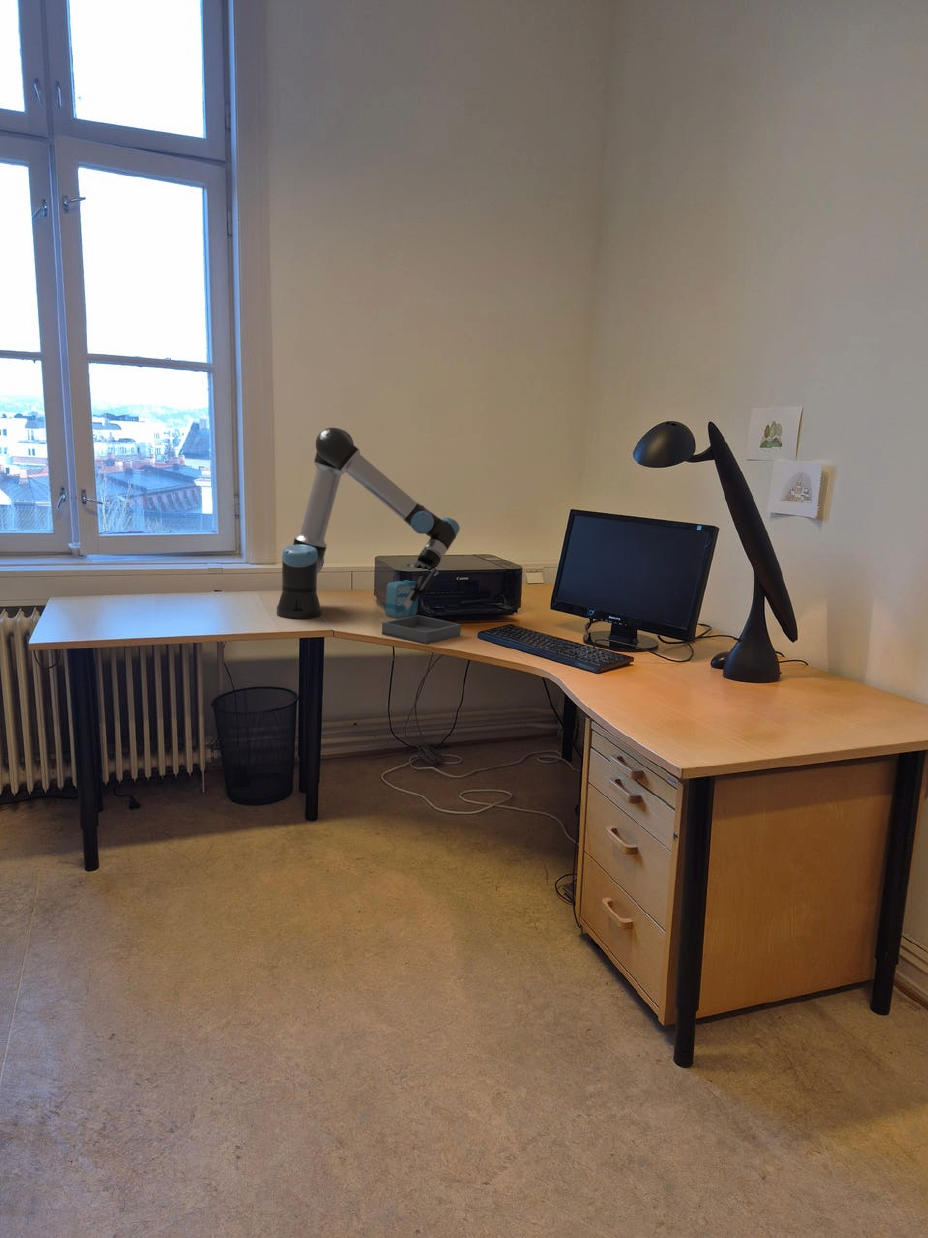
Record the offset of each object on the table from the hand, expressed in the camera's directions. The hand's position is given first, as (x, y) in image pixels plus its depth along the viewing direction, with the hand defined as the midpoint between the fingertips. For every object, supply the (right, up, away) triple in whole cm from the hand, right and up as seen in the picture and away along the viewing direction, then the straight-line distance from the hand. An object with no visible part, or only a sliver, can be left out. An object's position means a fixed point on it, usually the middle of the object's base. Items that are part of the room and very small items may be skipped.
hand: (399, 605), depth 259 cm
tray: (+8, -10, -15) cm, 20 cm away
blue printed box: (0, -4, +2) cm, 4 cm away
